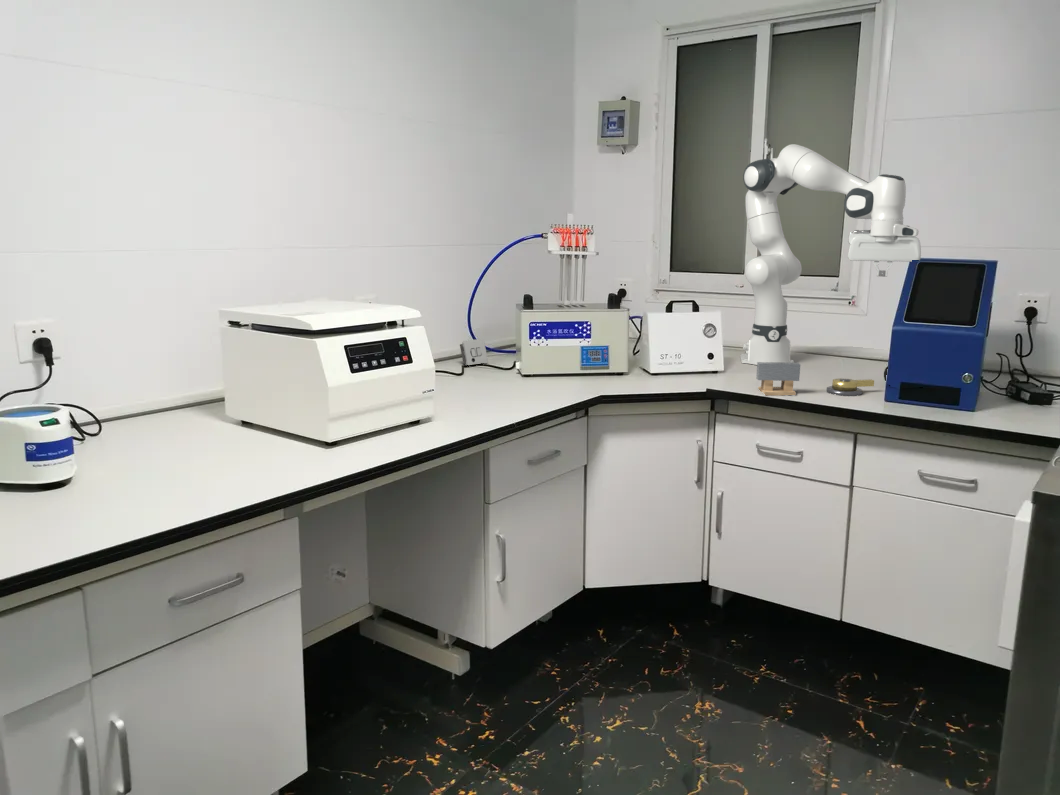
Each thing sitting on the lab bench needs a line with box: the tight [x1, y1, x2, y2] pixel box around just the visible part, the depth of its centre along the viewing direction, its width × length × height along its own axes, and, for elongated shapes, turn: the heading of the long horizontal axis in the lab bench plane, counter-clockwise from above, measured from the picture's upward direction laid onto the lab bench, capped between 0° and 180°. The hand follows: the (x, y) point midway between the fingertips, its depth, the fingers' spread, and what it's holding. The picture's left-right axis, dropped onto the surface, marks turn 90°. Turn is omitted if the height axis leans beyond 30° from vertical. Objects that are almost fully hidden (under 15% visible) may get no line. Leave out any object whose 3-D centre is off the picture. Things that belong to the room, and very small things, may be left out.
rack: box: [757, 380, 797, 396], centre depth 238 cm, size 8×9×4 cm
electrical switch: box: [459, 338, 489, 366], centre depth 285 cm, size 9×5×9 cm, turn 132°
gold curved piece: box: [831, 377, 875, 391], centre depth 239 cm, size 12×7×3 cm, turn 98°
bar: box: [756, 362, 801, 382], centre depth 237 cm, size 3×12×5 cm, turn 85°
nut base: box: [826, 385, 863, 397], centre depth 239 cm, size 10×10×1 cm
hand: (881, 276), depth 241 cm, fingers closed
